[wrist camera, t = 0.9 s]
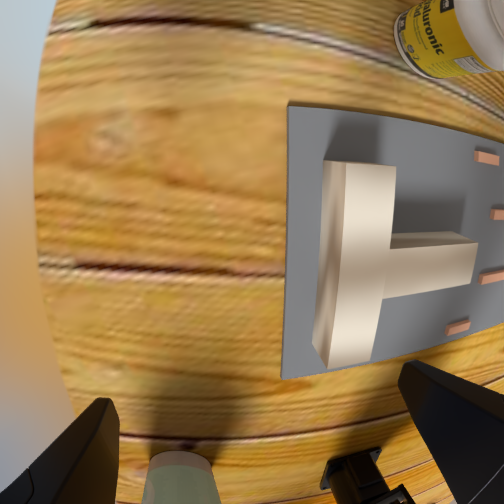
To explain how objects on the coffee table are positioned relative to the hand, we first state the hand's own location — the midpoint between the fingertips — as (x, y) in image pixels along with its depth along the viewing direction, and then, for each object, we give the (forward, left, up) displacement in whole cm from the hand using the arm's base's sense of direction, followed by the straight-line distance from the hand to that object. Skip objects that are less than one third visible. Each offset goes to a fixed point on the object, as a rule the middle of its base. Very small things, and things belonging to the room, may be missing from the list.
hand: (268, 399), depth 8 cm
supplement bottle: (+15, -13, -11) cm, 23 cm away
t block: (0, -11, -11) cm, 15 cm away
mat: (0, -17, -11) cm, 21 cm away
